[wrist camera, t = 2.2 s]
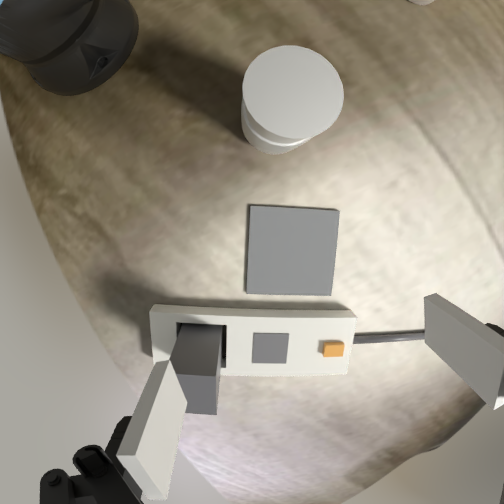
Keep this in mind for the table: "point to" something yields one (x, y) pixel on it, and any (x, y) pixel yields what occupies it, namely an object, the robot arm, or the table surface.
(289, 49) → the grey ribbed canister
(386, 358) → the table surface
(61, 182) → the table surface
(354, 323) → the power strip
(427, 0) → the coffee cup
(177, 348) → the block
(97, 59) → the robot arm
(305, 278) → the mat
